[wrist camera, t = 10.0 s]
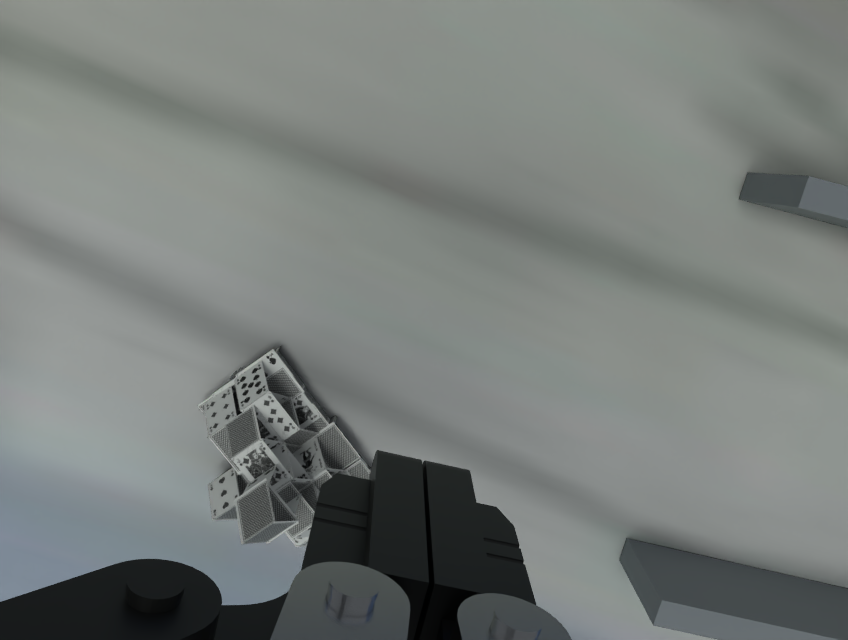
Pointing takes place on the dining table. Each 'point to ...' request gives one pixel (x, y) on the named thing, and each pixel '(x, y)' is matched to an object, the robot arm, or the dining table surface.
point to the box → (726, 581)
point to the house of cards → (273, 452)
